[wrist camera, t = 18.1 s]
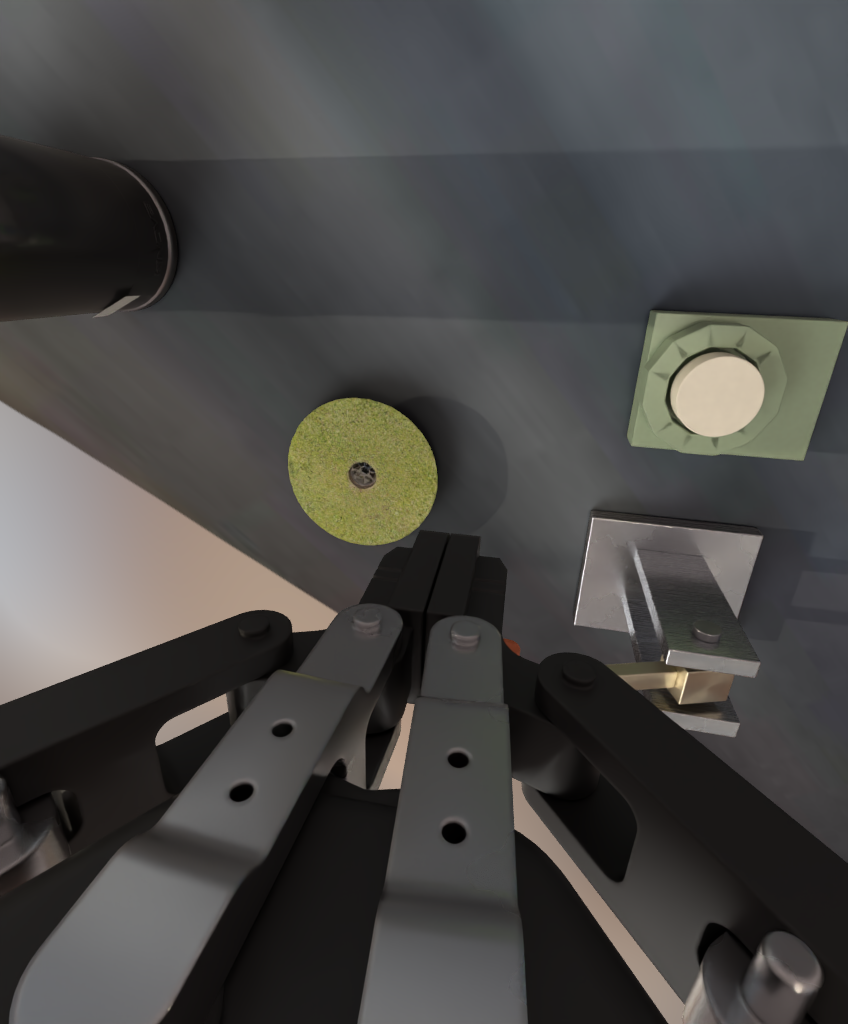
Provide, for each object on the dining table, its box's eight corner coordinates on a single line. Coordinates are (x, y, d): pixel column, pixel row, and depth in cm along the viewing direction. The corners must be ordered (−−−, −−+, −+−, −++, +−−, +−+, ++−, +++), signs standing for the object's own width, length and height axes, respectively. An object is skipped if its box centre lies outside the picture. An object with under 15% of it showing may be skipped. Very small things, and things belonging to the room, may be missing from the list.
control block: (624, 436, 37) (632, 454, 34) (647, 309, 34) (659, 314, 30) (789, 450, 35) (816, 470, 32) (830, 318, 32) (866, 324, 29)
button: (662, 425, 33) (668, 433, 31) (678, 349, 31) (685, 353, 30) (742, 432, 32) (752, 440, 31) (763, 354, 30) (775, 358, 29)
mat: (285, 504, 45) (274, 514, 43) (315, 370, 40) (304, 374, 38) (416, 554, 44) (410, 566, 42) (462, 424, 39) (458, 432, 37)
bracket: (572, 615, 43) (582, 739, 32) (590, 509, 40) (608, 607, 28) (723, 635, 41) (791, 776, 30) (757, 527, 38) (849, 640, 26)
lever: (479, 706, 31) (489, 739, 29) (486, 633, 29) (498, 663, 27) (695, 690, 33) (720, 721, 31) (716, 620, 31) (744, 647, 29)
